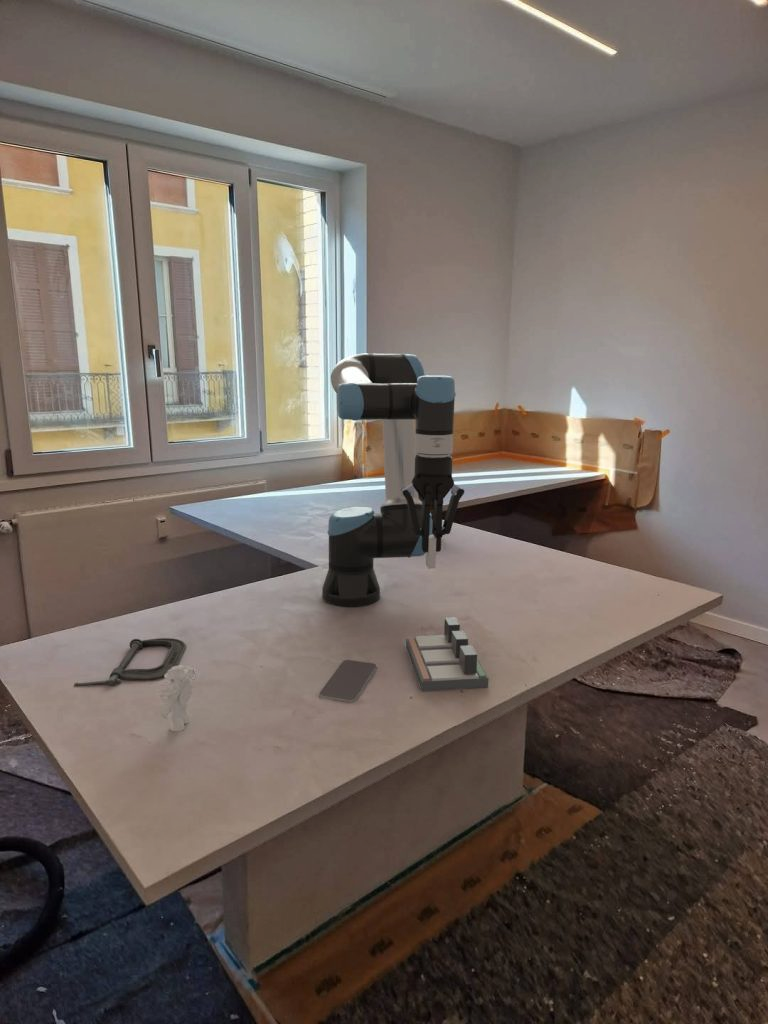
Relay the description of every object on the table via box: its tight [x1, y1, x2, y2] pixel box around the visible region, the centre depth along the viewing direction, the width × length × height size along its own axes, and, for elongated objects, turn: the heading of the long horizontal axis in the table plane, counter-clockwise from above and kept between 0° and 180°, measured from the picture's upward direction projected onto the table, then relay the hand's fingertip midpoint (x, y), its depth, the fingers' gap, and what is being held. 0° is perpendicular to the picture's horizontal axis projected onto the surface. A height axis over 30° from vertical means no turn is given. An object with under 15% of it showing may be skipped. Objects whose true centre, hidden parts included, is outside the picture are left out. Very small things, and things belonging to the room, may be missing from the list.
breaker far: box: [443, 616, 461, 643], centre depth 140 cm, size 2×4×4 cm, turn 7°
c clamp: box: [73, 637, 187, 688], centre depth 134 cm, size 20×17×3 cm
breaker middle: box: [451, 630, 469, 658], centre depth 134 cm, size 2×4×4 cm, turn 7°
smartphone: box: [318, 659, 377, 703], centre depth 128 cm, size 7×1×15 cm
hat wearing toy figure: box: [158, 664, 197, 732], centre depth 111 cm, size 9×4×12 cm, turn 168°
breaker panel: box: [405, 634, 489, 692], centre depth 134 cm, size 13×19×2 cm
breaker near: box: [459, 644, 478, 674], centre depth 127 cm, size 2×4×4 cm, turn 7°
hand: (430, 566), depth 136 cm, fingers closed
